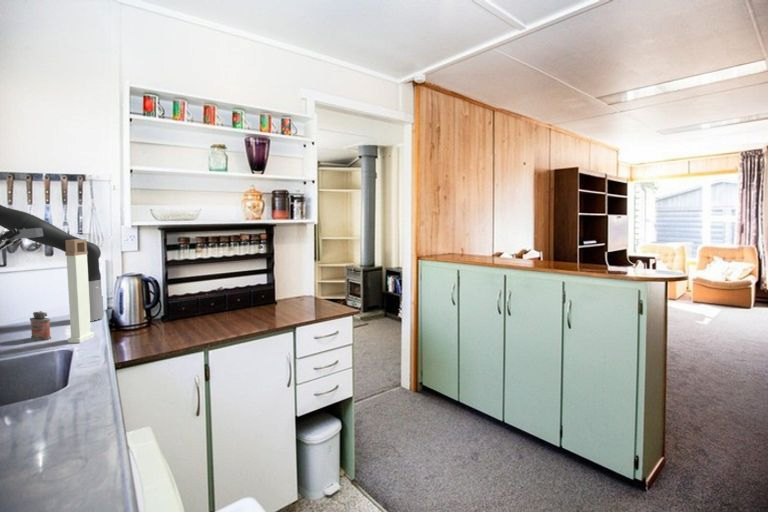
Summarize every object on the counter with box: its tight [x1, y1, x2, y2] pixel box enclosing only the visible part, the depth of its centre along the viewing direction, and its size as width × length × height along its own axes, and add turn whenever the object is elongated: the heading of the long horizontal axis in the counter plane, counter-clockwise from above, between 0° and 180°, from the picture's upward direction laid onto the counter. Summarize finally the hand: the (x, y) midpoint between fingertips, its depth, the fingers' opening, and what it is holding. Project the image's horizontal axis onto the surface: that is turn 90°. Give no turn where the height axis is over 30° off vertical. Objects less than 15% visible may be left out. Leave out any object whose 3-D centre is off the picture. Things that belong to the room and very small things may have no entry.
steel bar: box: [2, 228, 44, 240], centre depth 143 cm, size 3×11×3 cm, turn 93°
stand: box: [65, 238, 95, 344], centre depth 146 cm, size 8×4×36 cm, turn 3°
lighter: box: [29, 310, 52, 342], centre depth 147 cm, size 8×3×10 cm, turn 71°
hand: (20, 230), depth 143 cm, fingers closed on steel bar, 3 cm apart
